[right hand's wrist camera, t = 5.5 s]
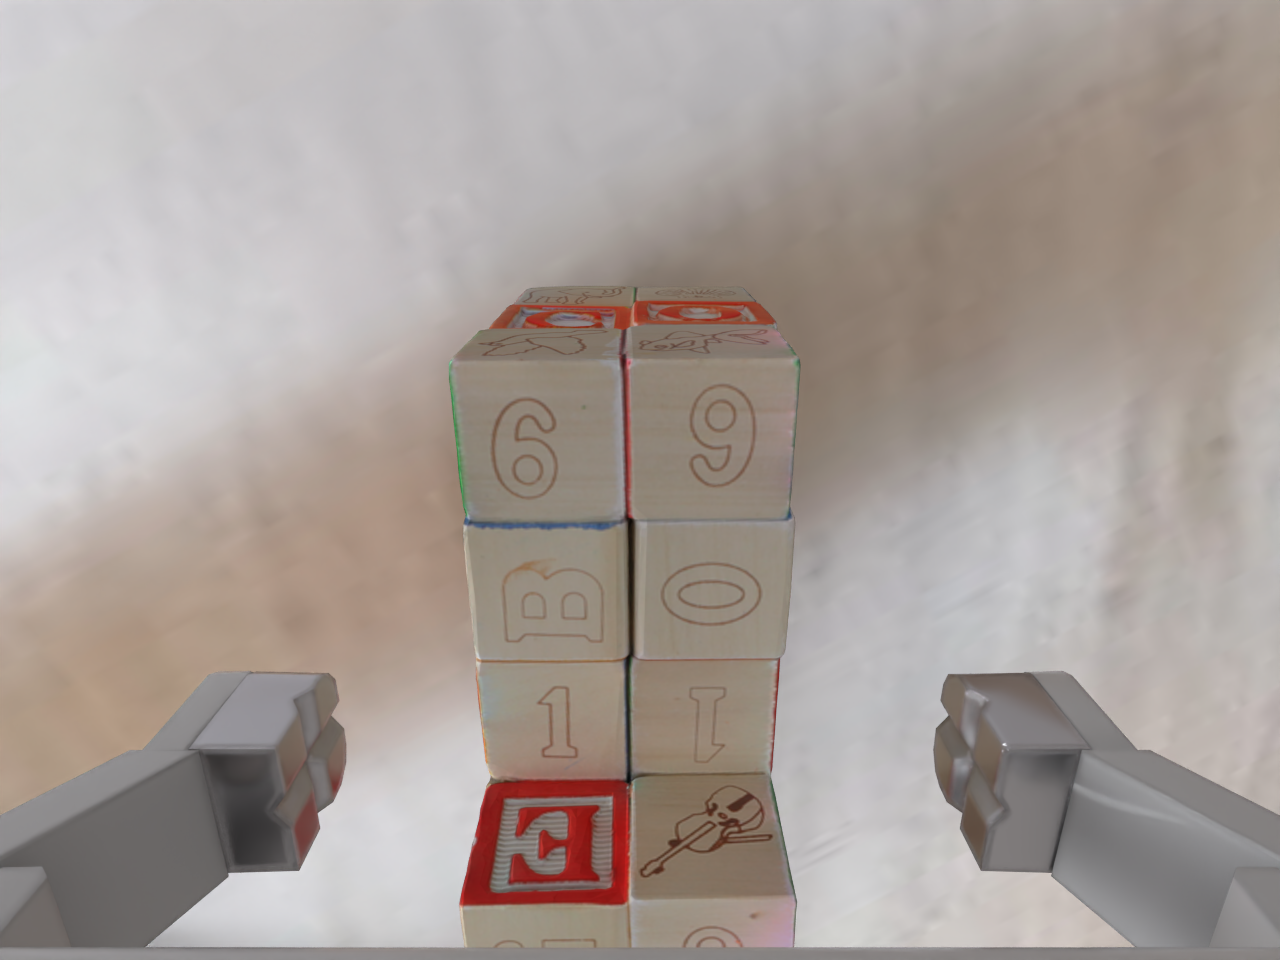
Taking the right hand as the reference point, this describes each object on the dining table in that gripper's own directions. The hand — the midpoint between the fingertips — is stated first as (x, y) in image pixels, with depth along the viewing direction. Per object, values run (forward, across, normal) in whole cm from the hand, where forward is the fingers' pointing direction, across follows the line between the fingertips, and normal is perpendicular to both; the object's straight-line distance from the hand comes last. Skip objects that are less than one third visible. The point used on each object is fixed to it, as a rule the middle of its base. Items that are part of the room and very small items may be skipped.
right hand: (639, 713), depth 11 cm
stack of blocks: (+14, 0, +7) cm, 15 cm away
